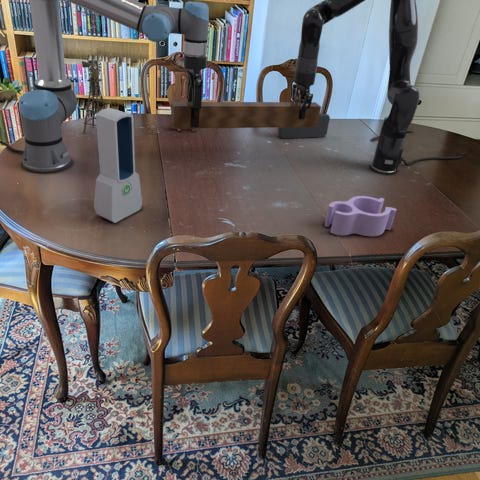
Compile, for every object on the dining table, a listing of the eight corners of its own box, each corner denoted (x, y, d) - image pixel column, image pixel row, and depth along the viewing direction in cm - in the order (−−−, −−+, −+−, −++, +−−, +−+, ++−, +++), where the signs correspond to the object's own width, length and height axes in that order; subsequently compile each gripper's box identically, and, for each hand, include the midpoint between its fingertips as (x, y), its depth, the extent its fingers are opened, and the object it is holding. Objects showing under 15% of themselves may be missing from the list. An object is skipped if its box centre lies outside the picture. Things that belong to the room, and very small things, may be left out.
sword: (408, 129, 227) (409, 127, 226) (413, 131, 225) (414, 129, 224) (366, 140, 211) (366, 138, 210) (371, 143, 209) (371, 140, 208)
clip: (337, 240, 135) (342, 219, 131) (318, 218, 145) (322, 198, 141) (395, 233, 141) (402, 213, 137) (373, 213, 151) (378, 194, 147)
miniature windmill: (102, 136, 185) (96, 56, 168) (82, 132, 186) (74, 53, 169) (112, 128, 192) (107, 52, 176) (92, 125, 193) (86, 49, 177)
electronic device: (112, 224, 131) (106, 120, 115) (93, 216, 134) (84, 113, 118) (143, 208, 140) (140, 109, 124) (124, 200, 143) (119, 103, 127)
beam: (173, 128, 161) (173, 106, 157) (170, 123, 165) (171, 101, 161) (317, 127, 177) (321, 106, 173) (312, 122, 181) (315, 102, 177)
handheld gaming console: (323, 134, 210) (328, 113, 204) (326, 137, 208) (331, 115, 202) (276, 136, 203) (280, 113, 197) (279, 138, 201) (282, 115, 195)
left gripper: (213, 61, 146) (209, 133, 159) (200, 49, 161) (197, 115, 173) (189, 61, 144) (187, 133, 157) (179, 48, 159) (177, 115, 171)
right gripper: (323, 75, 162) (315, 123, 171) (307, 65, 173) (300, 110, 182) (304, 75, 160) (296, 123, 169) (288, 64, 171) (282, 110, 180)
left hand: (193, 123), depth 165 cm, fingers closed on beam, 5 cm apart
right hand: (298, 116), depth 175 cm, fingers closed on beam, 5 cm apart
